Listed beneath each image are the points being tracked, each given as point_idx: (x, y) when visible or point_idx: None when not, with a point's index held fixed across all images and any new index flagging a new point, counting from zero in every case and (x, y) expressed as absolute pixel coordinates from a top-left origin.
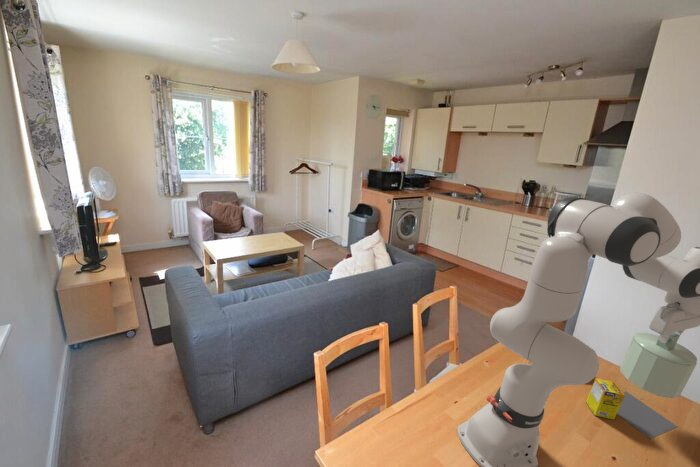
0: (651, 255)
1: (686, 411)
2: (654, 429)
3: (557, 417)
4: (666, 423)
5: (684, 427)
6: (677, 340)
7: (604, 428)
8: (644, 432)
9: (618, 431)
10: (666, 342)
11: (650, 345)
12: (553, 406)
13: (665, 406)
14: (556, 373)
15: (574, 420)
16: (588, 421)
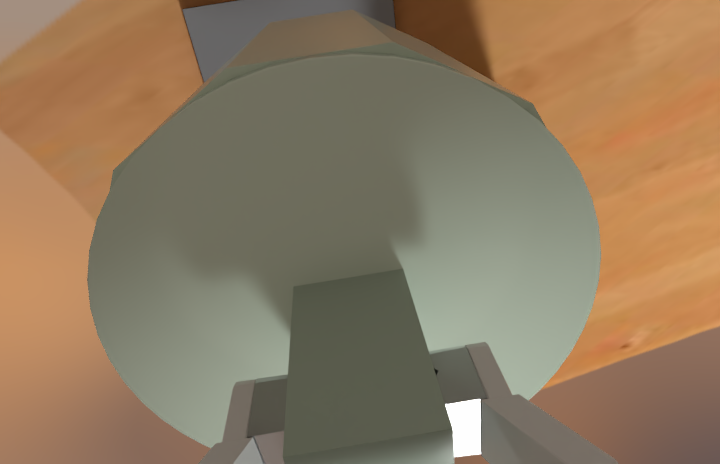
0: None
1: (32, 78)
2: (316, 14)
3: (635, 126)
4: (221, 32)
5: (140, 5)
6: (292, 376)
7: (514, 58)
8: (380, 9)
9: (473, 37)
10: (487, 350)
11: (494, 339)
12: (599, 168)
13: (118, 115)
14: None
15: (589, 106)
16: (542, 95)
